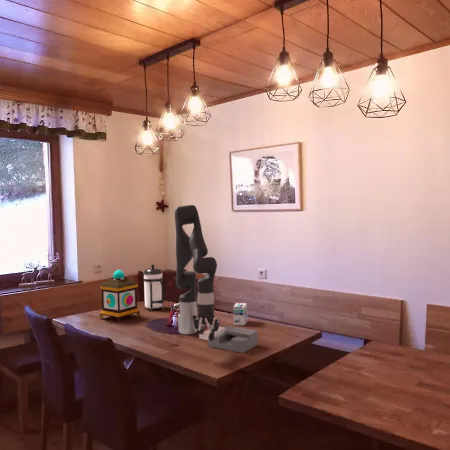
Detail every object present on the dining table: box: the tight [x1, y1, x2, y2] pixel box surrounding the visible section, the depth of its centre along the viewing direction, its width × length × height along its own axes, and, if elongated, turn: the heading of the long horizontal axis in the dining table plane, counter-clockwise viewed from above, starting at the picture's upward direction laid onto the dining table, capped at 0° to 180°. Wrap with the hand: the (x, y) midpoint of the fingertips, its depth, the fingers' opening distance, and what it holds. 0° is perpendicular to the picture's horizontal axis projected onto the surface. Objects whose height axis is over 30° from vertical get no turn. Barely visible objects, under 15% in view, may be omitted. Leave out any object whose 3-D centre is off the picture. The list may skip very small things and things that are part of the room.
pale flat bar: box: [198, 326, 226, 341], centre depth 201 cm, size 5×14×2 cm, turn 147°
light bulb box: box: [232, 302, 248, 326], centre depth 256 cm, size 11×7×11 cm, turn 168°
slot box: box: [207, 325, 259, 354], centre depth 216 cm, size 20×14×7 cm
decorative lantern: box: [99, 269, 140, 323], centre depth 274 cm, size 20×20×30 cm
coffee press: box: [142, 264, 166, 312], centre depth 295 cm, size 17×16×30 cm
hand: (206, 339), depth 197 cm, fingers closed on pale flat bar, 5 cm apart
